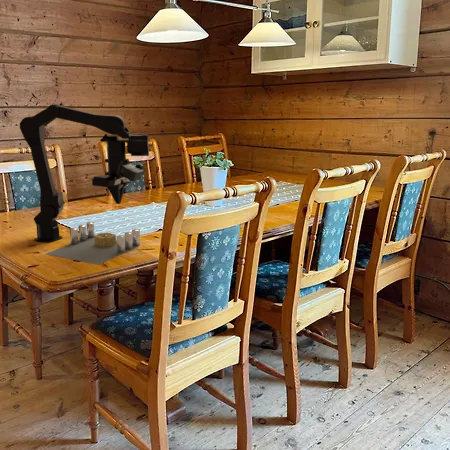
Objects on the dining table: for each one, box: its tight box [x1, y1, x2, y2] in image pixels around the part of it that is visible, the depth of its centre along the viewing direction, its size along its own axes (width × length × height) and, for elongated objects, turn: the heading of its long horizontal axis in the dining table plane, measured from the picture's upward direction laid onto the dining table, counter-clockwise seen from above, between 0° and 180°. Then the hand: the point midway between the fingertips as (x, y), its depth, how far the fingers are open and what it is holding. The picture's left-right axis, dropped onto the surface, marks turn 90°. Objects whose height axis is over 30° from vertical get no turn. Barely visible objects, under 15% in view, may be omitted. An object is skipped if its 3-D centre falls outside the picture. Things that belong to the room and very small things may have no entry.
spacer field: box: [69, 221, 141, 254], centre depth 156 cm, size 20×10×5 cm, turn 66°
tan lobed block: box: [94, 232, 117, 248], centre depth 156 cm, size 6×6×3 cm
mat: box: [45, 238, 138, 266], centre depth 152 cm, size 20×21×1 cm
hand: (118, 203), depth 160 cm, fingers closed
